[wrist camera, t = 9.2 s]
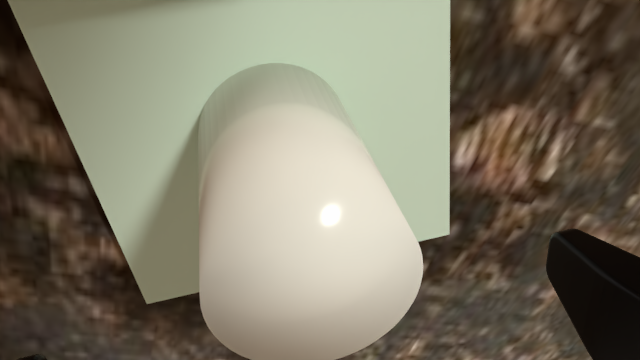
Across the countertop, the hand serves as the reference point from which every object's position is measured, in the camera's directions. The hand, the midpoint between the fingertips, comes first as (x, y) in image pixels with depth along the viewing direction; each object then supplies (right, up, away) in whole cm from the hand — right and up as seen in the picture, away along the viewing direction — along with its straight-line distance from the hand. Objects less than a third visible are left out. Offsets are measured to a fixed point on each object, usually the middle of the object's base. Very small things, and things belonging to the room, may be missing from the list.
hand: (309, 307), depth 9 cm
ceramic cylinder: (-1, +3, +5) cm, 6 cm away
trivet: (-1, +4, +5) cm, 7 cm away
